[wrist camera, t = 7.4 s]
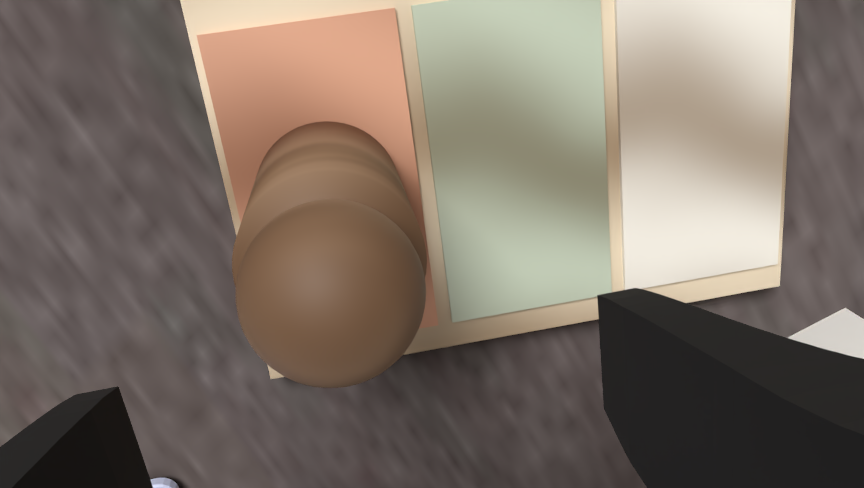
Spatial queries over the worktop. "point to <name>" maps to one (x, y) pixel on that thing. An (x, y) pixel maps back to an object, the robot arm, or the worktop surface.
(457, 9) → the board
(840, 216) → the worktop surface
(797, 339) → the die
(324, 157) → the pawn
